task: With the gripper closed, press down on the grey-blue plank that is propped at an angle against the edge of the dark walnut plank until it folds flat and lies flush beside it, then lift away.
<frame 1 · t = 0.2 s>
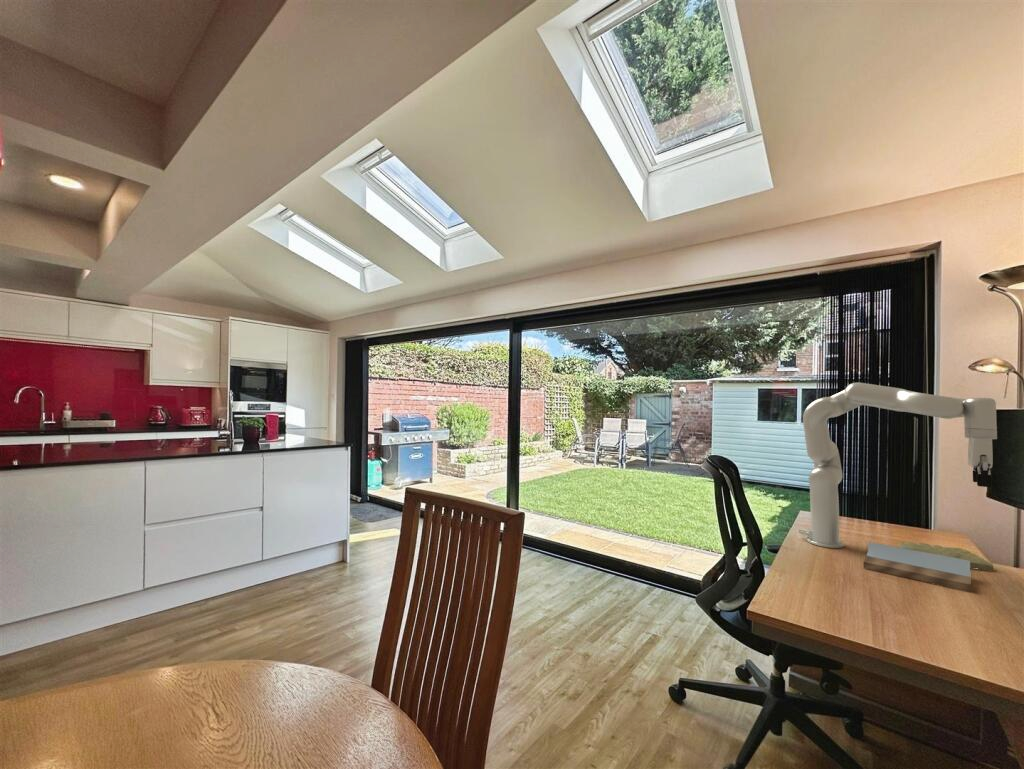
hand: (981, 484, 148), 31 cm above the table, tool pointing down, fingers open, 9 cm apart
walnut plank: (914, 576, 146), on the table
grey-blue plank: (916, 560, 152), point 3 cm above the table, hinge at 25.0°
decorative tile: (941, 560, 163), on the table
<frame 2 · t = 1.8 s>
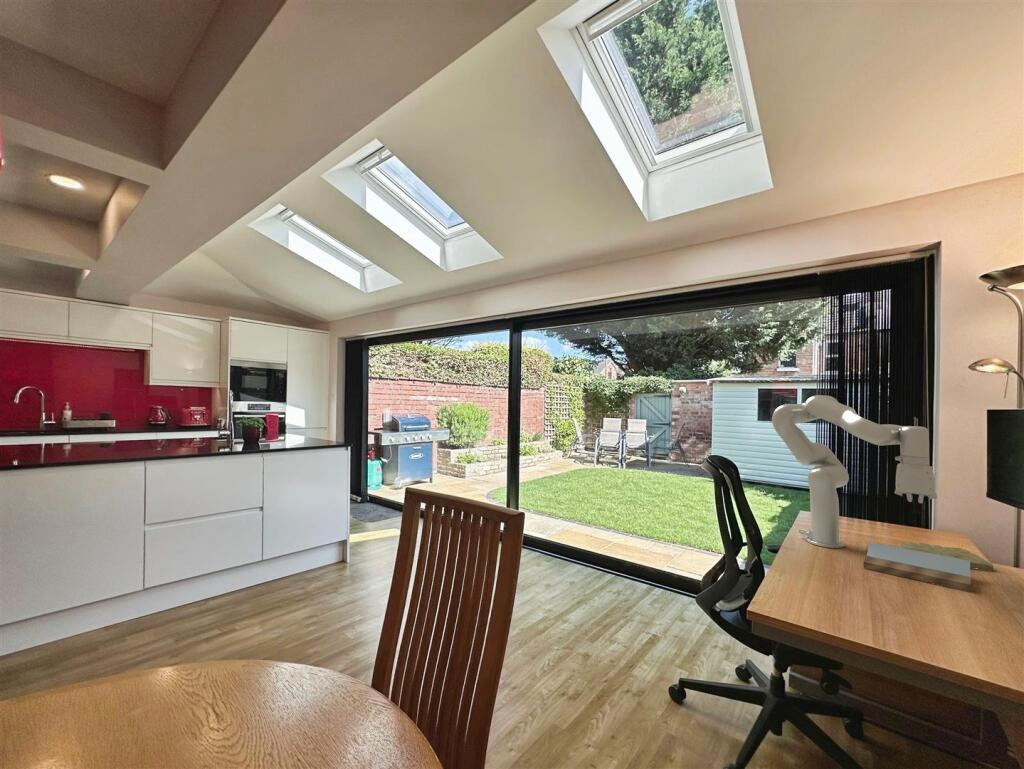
hand: (915, 513, 154), 19 cm above the table, tool pointing down, fingers closed
nothing on the table moved.
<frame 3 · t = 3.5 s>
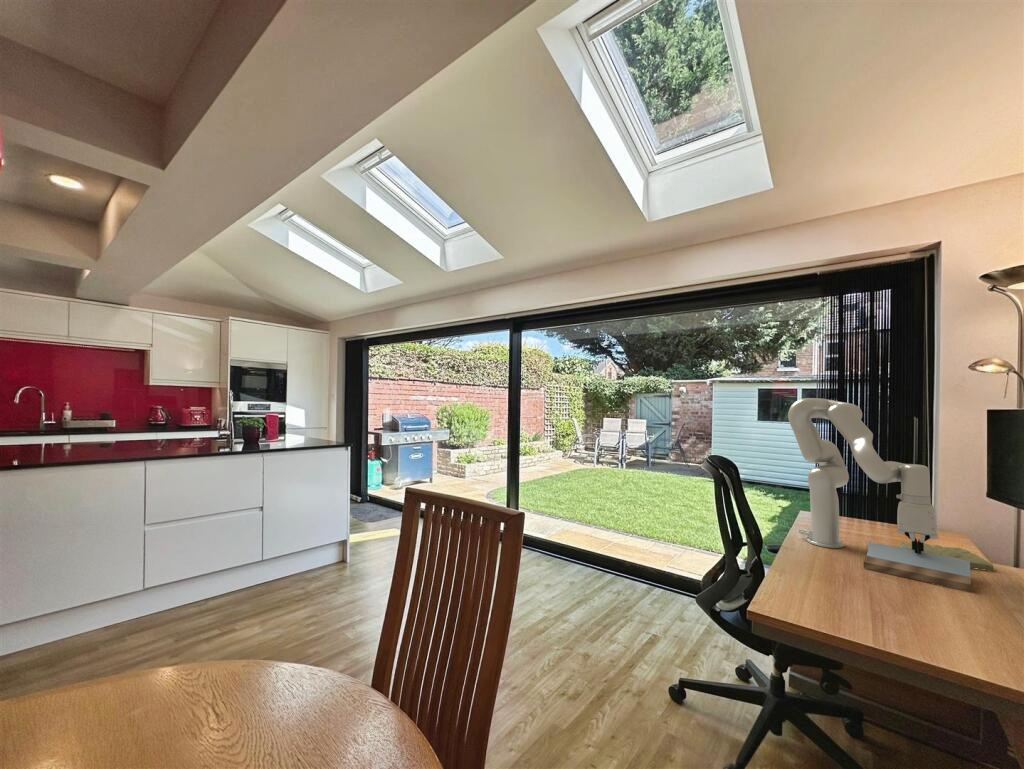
hand: (918, 552, 153), 6 cm above the table, tool pointing down, fingers closed
grey-blue plank: (916, 560, 152), point 3 cm above the table, hinge at 24.7°, touching gripper
everything else where it was.
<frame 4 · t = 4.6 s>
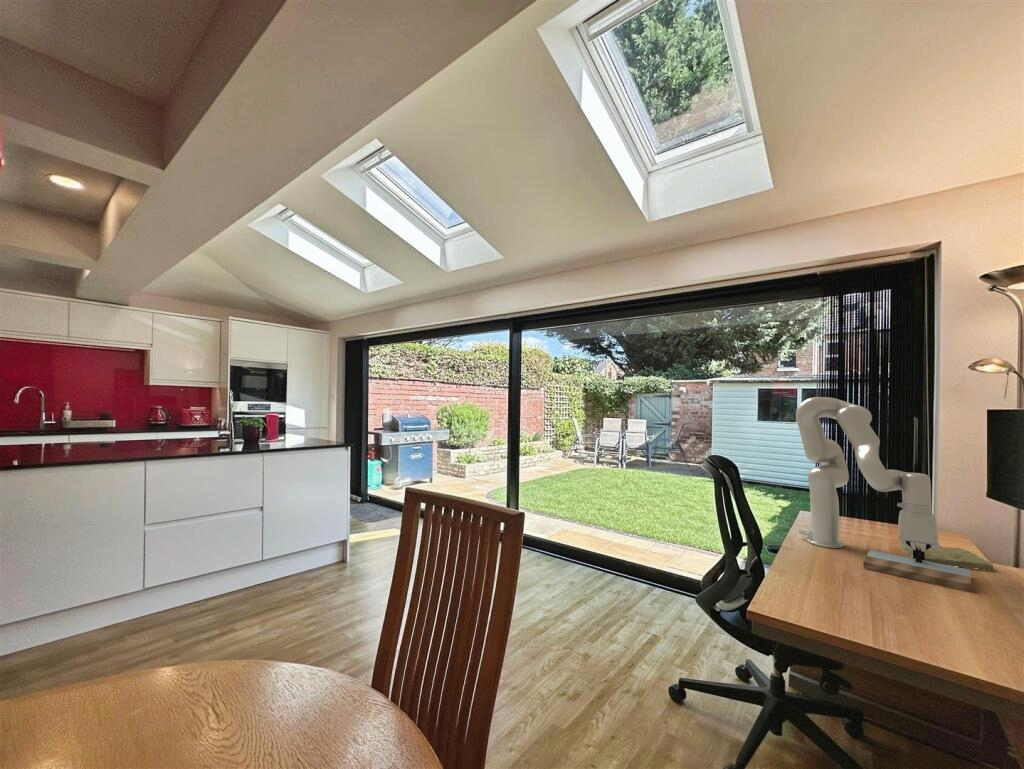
hand: (919, 561, 153), 3 cm above the table, tool pointing down, fingers closed
grey-blue plank: (916, 565, 152), point 1 cm above the table, hinge at 1.9°, touching gripper
everything else where it was.
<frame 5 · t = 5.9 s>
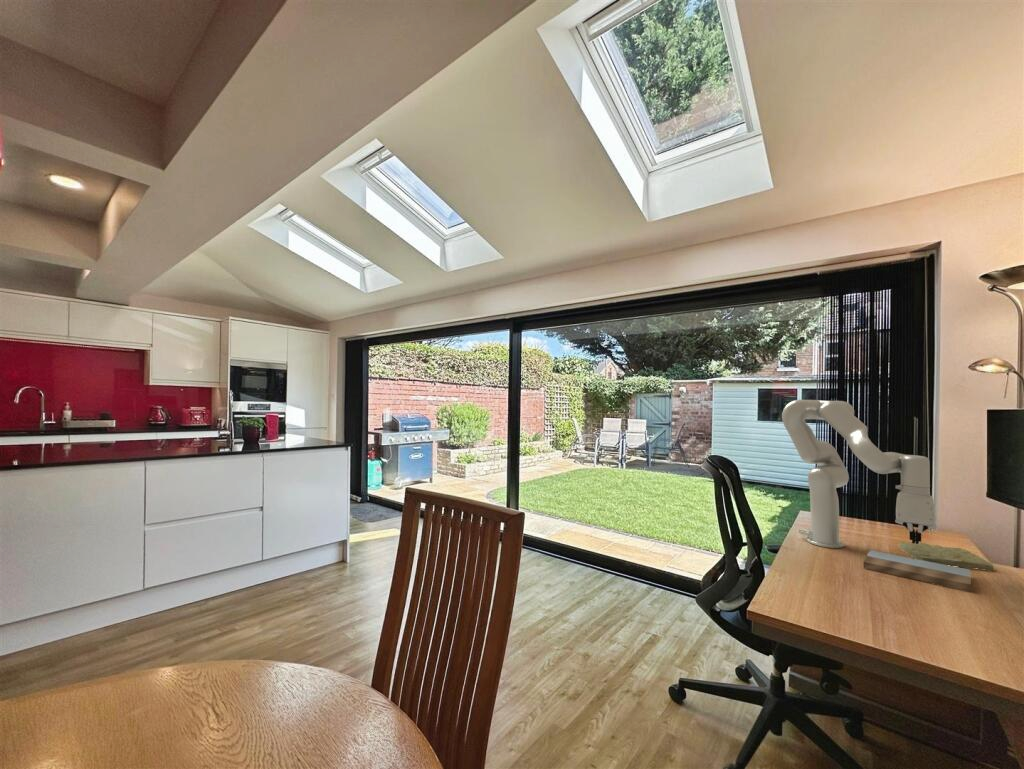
hand: (915, 542, 154), 9 cm above the table, tool pointing down, fingers closed
grey-blue plank: (916, 565, 152), point 1 cm above the table, hinge at 1.6°
everything else where it was.
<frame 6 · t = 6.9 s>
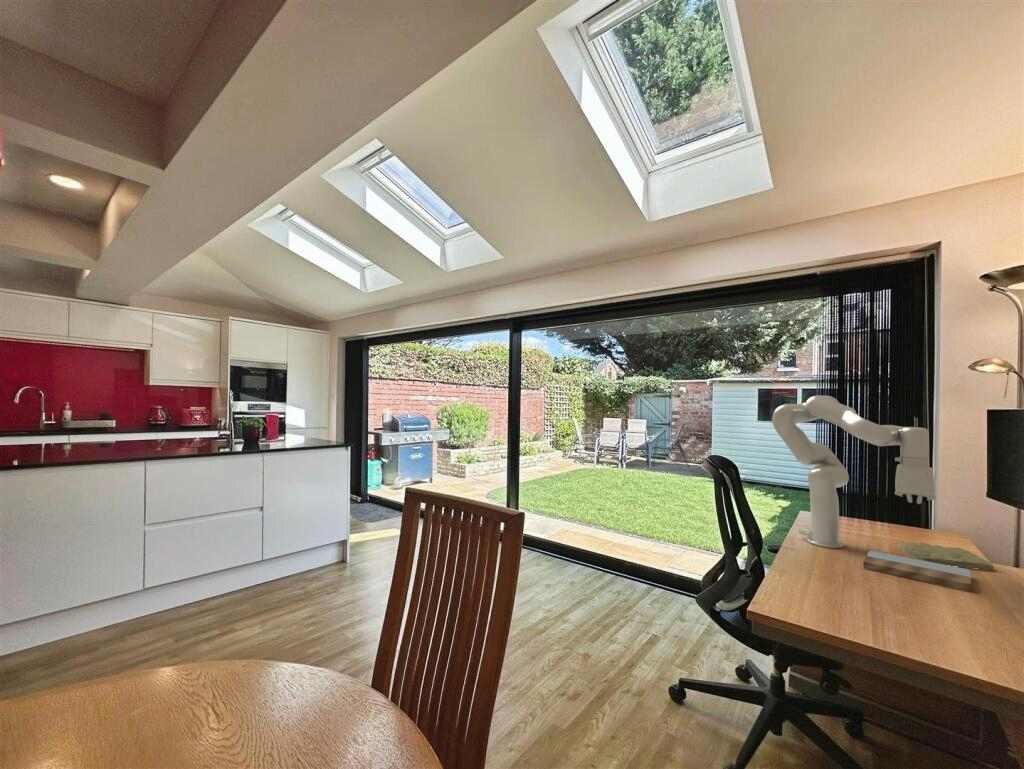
hand: (914, 514, 154), 19 cm above the table, tool pointing down, fingers closed
nothing on the table moved.
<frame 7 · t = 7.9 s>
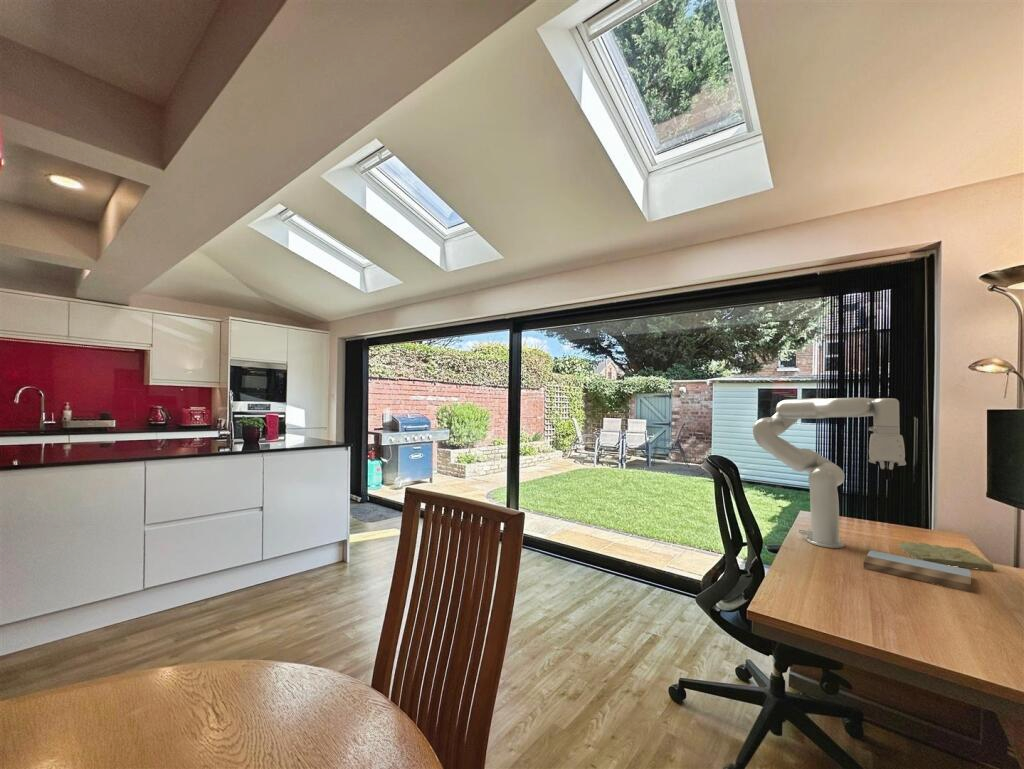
hand: (887, 479, 164), 29 cm above the table, tool pointing down, fingers closed
nothing on the table moved.
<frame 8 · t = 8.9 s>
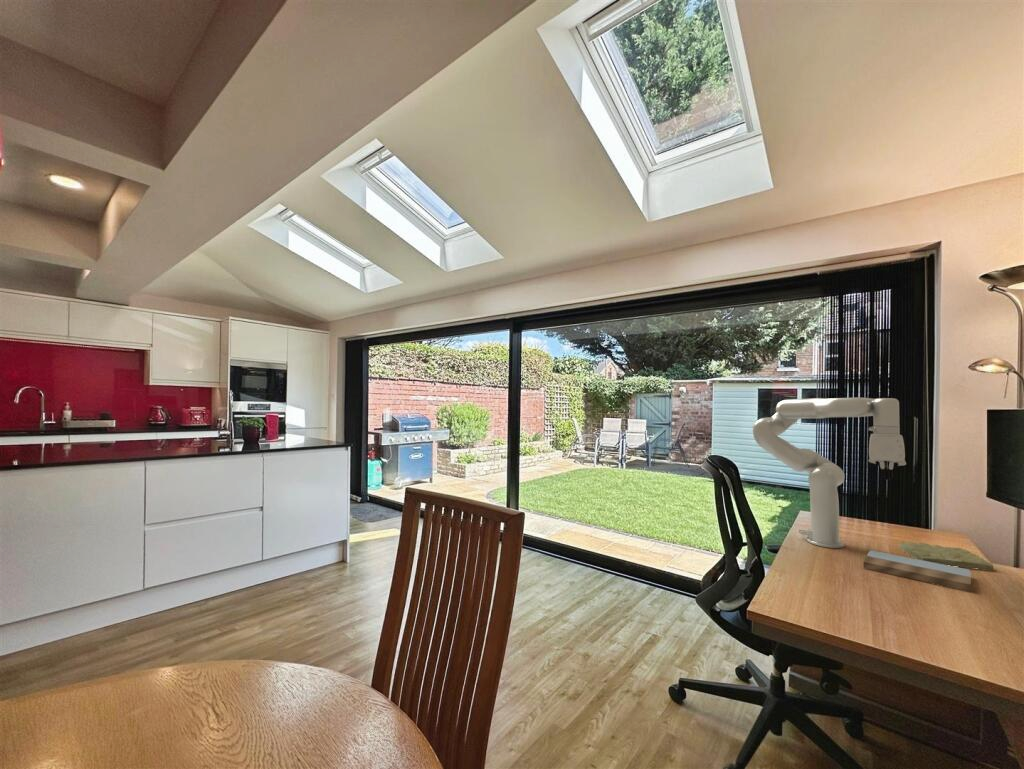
hand: (887, 479, 164), 29 cm above the table, tool pointing down, fingers closed
nothing on the table moved.
at the end: grey-blue plank at +2° (first picture: +25°) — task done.
